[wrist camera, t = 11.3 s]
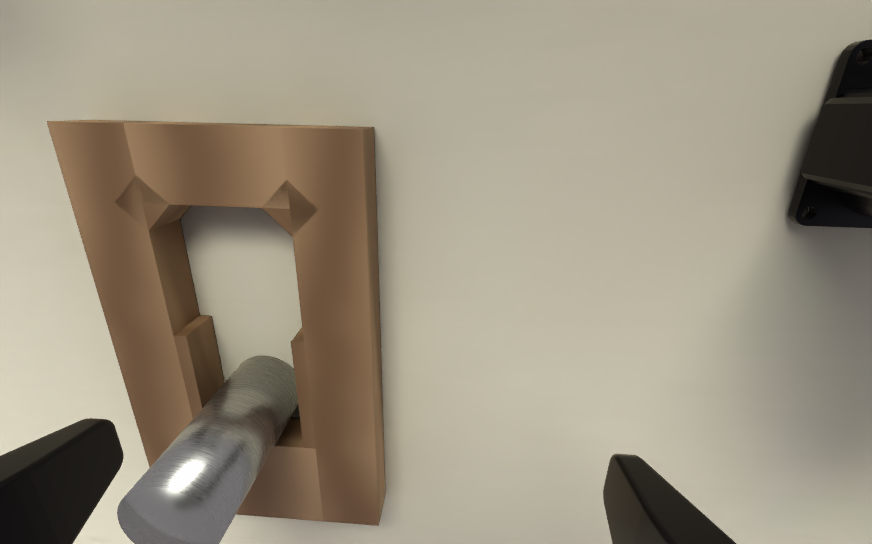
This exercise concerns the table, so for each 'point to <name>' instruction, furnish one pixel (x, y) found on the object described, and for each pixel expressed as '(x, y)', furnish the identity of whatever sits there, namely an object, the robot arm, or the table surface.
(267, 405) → the peg
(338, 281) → the keyhole board
